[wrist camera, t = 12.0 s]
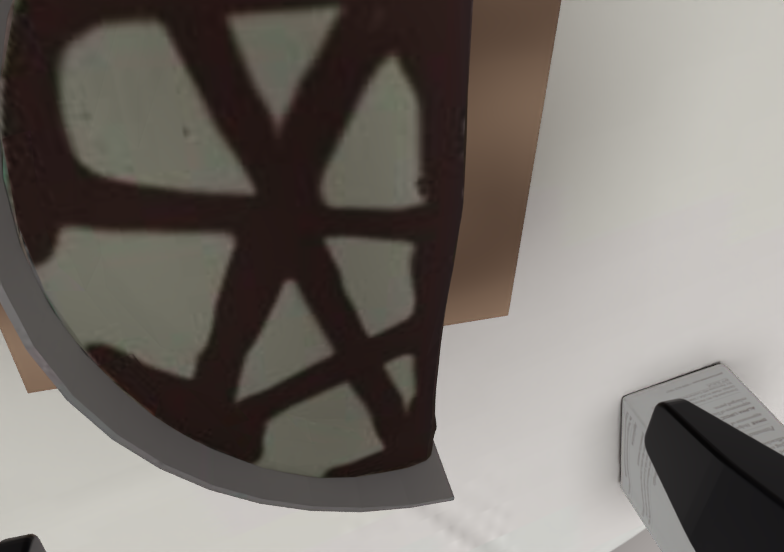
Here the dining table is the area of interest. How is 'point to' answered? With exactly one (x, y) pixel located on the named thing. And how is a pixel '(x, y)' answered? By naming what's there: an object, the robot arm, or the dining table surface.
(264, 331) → the food container
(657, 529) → the skincare box
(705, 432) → the robot arm
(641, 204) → the dining table surface
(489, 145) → the walnut stand
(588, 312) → the dining table surface
